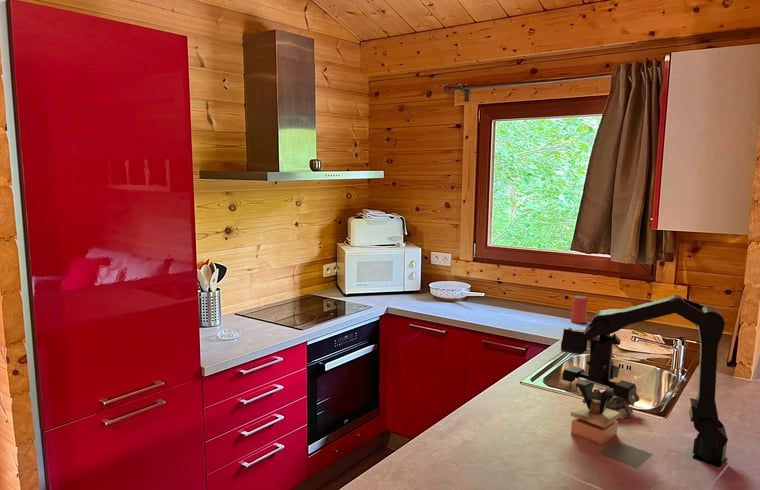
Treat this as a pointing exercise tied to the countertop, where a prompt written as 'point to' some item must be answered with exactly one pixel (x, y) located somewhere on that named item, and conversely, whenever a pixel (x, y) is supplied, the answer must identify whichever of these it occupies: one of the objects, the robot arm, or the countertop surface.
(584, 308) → the beer can
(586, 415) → the lid
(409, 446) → the countertop surface
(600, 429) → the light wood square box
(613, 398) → the foil
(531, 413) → the countertop surface
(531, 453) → the countertop surface
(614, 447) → the mat
